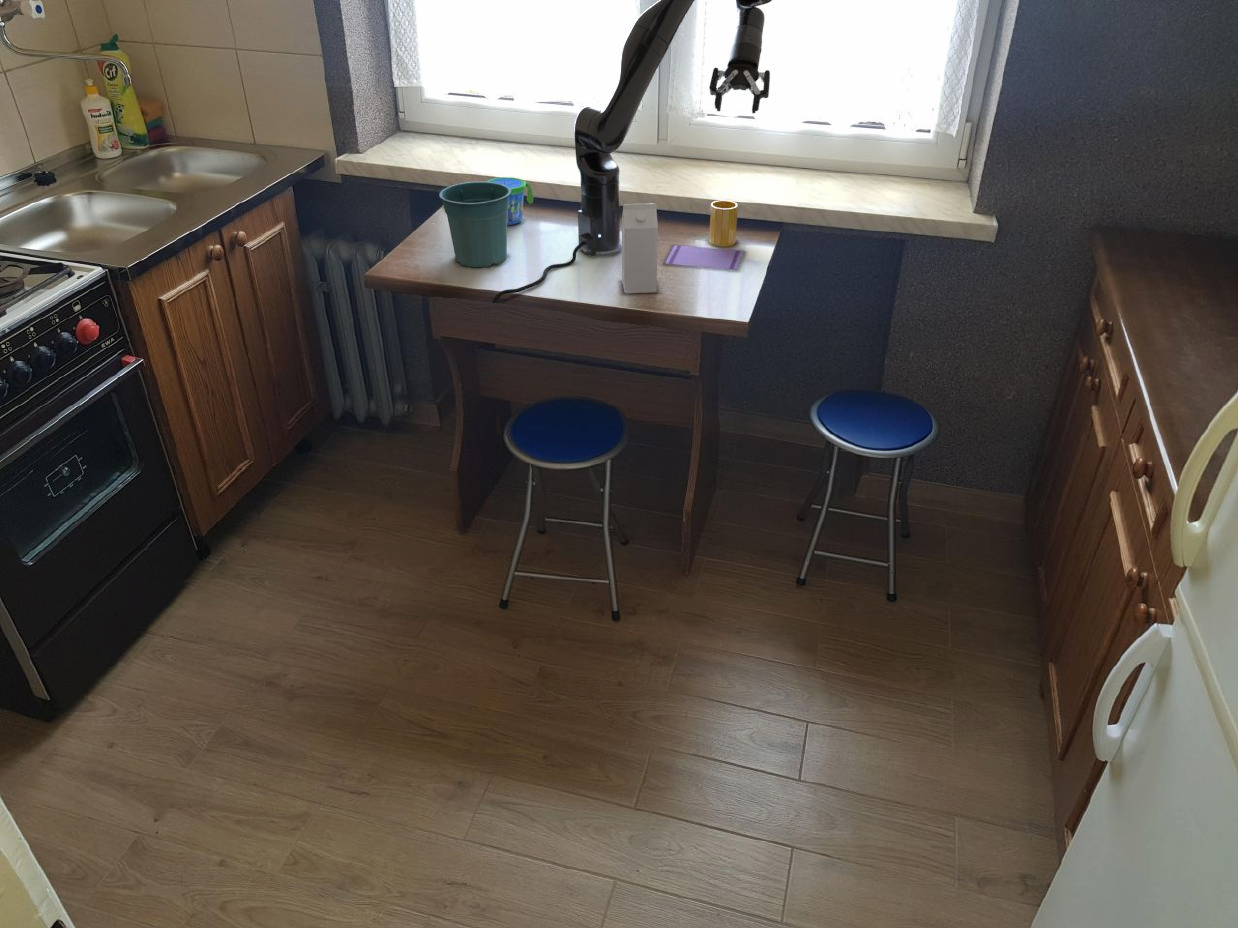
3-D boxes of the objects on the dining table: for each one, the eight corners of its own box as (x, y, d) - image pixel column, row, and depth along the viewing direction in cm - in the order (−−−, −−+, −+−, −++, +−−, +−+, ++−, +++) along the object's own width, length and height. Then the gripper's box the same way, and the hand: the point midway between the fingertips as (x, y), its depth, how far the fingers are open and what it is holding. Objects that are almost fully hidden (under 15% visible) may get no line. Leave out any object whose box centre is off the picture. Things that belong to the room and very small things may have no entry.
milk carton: (621, 281, 216) (621, 199, 206) (652, 280, 217) (654, 198, 206) (624, 294, 211) (624, 210, 200) (656, 293, 211) (658, 209, 200)
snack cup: (524, 210, 256) (521, 172, 251) (543, 221, 249) (541, 182, 243) (471, 221, 249) (468, 183, 244) (490, 233, 242) (486, 194, 236)
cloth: (664, 264, 225) (664, 263, 224) (674, 246, 234) (674, 245, 234) (736, 271, 221) (736, 269, 221) (743, 252, 231) (743, 251, 231)
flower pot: (432, 259, 228) (424, 192, 219) (484, 240, 238) (479, 176, 229) (476, 277, 219) (470, 208, 210) (529, 257, 229) (525, 191, 220)
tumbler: (719, 249, 233) (722, 211, 227) (703, 241, 237) (705, 203, 232) (740, 243, 236) (743, 206, 230) (724, 236, 240) (726, 198, 235)
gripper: (715, 39, 231) (705, 100, 228) (774, 42, 228) (765, 103, 225) (717, 58, 238) (707, 117, 235) (774, 61, 235) (765, 121, 232)
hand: (735, 110), depth 230 cm, fingers open, 8 cm apart
